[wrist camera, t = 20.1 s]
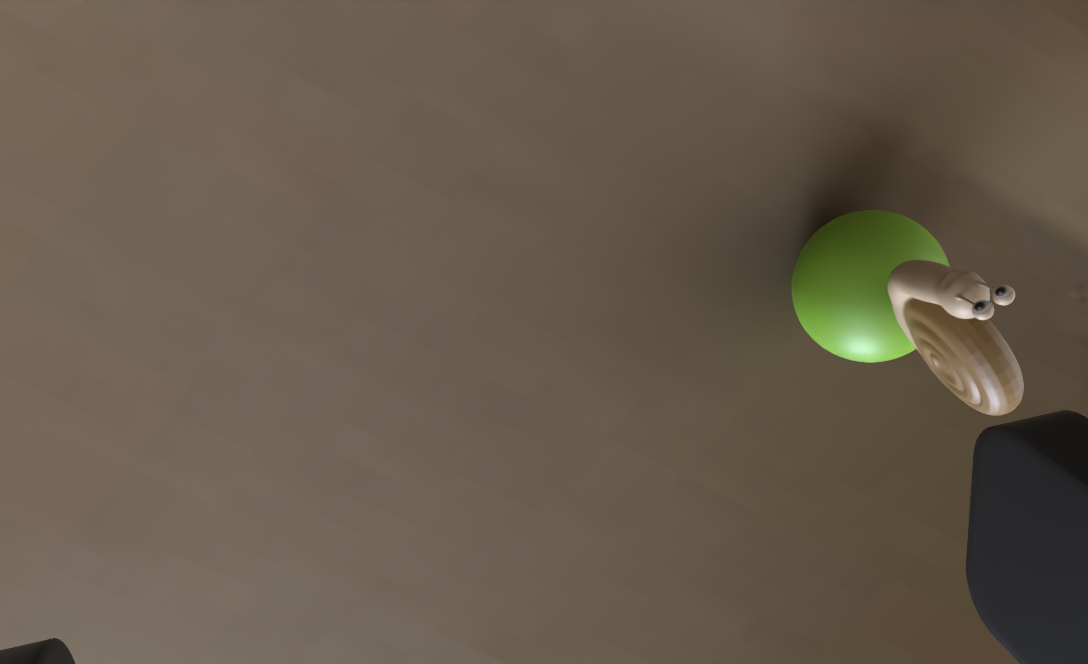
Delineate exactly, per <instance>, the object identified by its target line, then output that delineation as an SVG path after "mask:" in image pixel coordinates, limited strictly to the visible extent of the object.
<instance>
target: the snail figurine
mask: <svg viewBox="0 0 1088 664" xmlns="http://www.w3.org/2000/svg"><path fill="white" fill-rule="evenodd" d="M988 288H990V289H992V290H993V294H992V296H993V299H994V301H995V302H996V303H997V304H999V305H1008V304H1010V303H1011V302H1012V301H1013V300H1014V298H1015V292H1014V290H1013V288H1012V287H1010V286H1008V285H1000V286H998V287H996V288H995V287H992V286H990V285H988V284H986V283H985V281H984V280H983V279H982V278H981V277H980V276H979V275H977V274H976V273H974V272H971V271H968V270H955V269H953V268H951V267H949V264H948V261H947V258H946V256H945V254H944V251H943V250H942V248H941V246H940V245H939V243H938V242H937V240H936V239H935V238H934V237H933V236H932V235H931V234H930V233H929V232H928V231H927V230H926V229H925V228H924V227H923V226H921V225H920V224H918V223H917V222H915V221H914V220H912V219H910V218H908V217H906V216H903V215H901V214H898V213H894V212H890V211H884V210H861V211H855V212H851V213H848V214H845V215H842V216H839V217H837V218H835V219H833V220H831V221H830V222H828V223H826V224H825V225H824V226H822V227H821V228H820V229H819V230H817V231H816V232H815V233H814V234H813V235H812V236H811V237H810V239H809V240H808V241H807V242H806V244H805V245H804V247H803V248H802V250H801V252H800V254H799V256H798V258H797V260H796V263H795V266H794V270H793V274H792V284H791V291H792V300H793V304H794V308H795V311H796V314H797V316H798V318H799V320H800V322H801V324H802V326H803V327H804V329H805V330H806V331H807V333H808V334H809V335H810V336H811V337H812V338H813V339H814V340H815V341H816V342H817V343H818V344H819V345H821V346H822V347H823V348H825V349H826V350H828V351H830V352H831V353H833V354H835V355H838V356H840V357H843V358H846V359H849V360H853V361H859V362H881V361H887V360H892V359H895V358H898V357H901V356H903V355H906V354H908V353H910V352H912V351H913V350H915V349H917V350H918V352H919V353H920V354H921V356H922V357H923V359H924V360H925V361H926V363H927V364H928V365H929V367H930V368H931V370H932V371H933V372H934V373H935V375H936V376H937V377H938V378H939V379H940V380H941V381H942V382H943V384H944V385H945V386H946V387H948V388H949V389H950V390H951V391H952V392H953V393H954V394H955V395H956V396H957V397H959V398H960V399H961V400H962V401H963V402H965V403H966V404H967V405H969V406H970V407H972V408H974V409H975V410H977V411H980V412H982V413H985V414H989V415H1003V414H1006V413H1009V412H1011V411H1013V410H1014V409H1015V408H1016V407H1017V405H1018V404H1019V403H1020V401H1021V399H1022V396H1023V391H1024V384H1023V378H1022V373H1021V370H1020V367H1019V365H1018V363H1017V360H1016V358H1015V356H1014V354H1013V353H1012V351H1011V349H1010V347H1009V346H1008V344H1007V342H1006V341H1005V339H1004V338H1003V336H1002V335H1001V334H1000V332H999V331H998V330H997V328H996V327H995V326H994V324H993V323H992V322H991V321H990V320H989V318H990V317H992V315H993V313H994V306H993V304H992V303H991V302H989V299H990V293H989V289H988Z"/></svg>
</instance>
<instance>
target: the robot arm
mask: <svg viewBox="0 0 1088 664" xmlns="http://www.w3.org/2000/svg"><path fill="white" fill-rule="evenodd" d="M966 574H967V582H968V586H969V590H970V594H971V597H972V600H973V602H974V605H975V607H976V609H977V611H978V613H979V615H980V617H981V619H982V621H983V622H984V624H985V625H986V627H987V628H988V629H989V631H990V632H991V633H992V634H993V635H994V637H995V638H996V639H997V640H998V641H999V642H1000V643H1001V644H1002V645H1003V646H1004V647H1005V648H1006V649H1007V650H1008V651H1009V652H1010V653H1011V654H1012V655H1013V656H1014V657H1015V658H1016V659H1017V660H1018V661H1019V662H1020V663H1021V664H1088V419H1087V418H1086V417H1084V416H1082V415H1080V414H1079V413H1077V412H1073V411H1068V410H1062V411H1058V412H1053V413H1049V414H1045V415H1040V416H1036V417H1032V418H1027V419H1023V420H1018V421H1014V422H1010V423H1005V424H1001V425H997V426H992V427H988V428H987V429H985V430H983V432H982V433H981V434H980V435H979V437H978V439H977V441H976V444H975V448H974V455H973V470H972V485H971V499H970V514H969V528H968V543H967V558H966ZM0 664H75V662H74V660H73V657H72V655H71V653H70V651H69V650H68V648H67V647H66V645H65V644H64V643H63V642H62V641H60V640H59V639H56V638H53V639H49V640H44V641H40V642H35V643H31V644H27V645H22V646H18V647H14V648H9V649H5V650H0Z"/></svg>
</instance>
